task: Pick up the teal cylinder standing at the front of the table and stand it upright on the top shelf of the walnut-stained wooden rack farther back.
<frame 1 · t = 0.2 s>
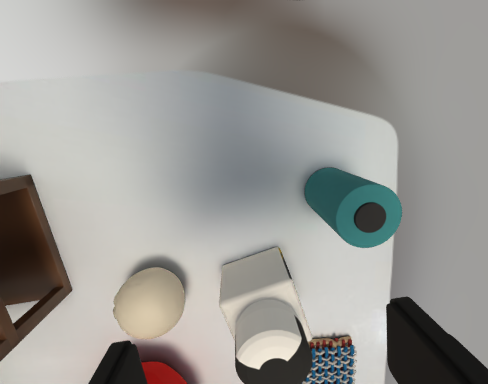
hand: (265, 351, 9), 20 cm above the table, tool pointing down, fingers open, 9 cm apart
cream round ball: (158, 283, 31), on the table
medicine bottle: (259, 279, 31), on the table
teal cylinder: (327, 190, 29), on the table
woven mat: (312, 366, 34), on the table
tomato: (154, 380, 34), on the table
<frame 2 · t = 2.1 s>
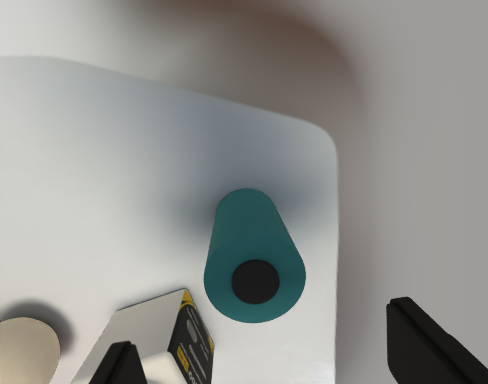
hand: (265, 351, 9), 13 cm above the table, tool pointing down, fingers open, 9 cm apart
cream round ball: (36, 332, 24), on the table
medicine bottle: (167, 327, 24), on the table
teal cylinder: (246, 218, 22), on the table
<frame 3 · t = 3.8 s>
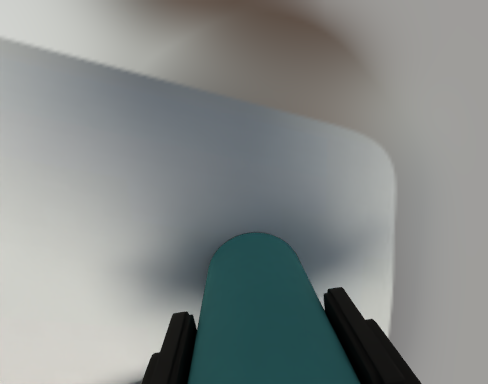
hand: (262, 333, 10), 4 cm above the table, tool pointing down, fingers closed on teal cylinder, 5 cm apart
teal cylinder: (254, 275, 14), on the table, touching gripper
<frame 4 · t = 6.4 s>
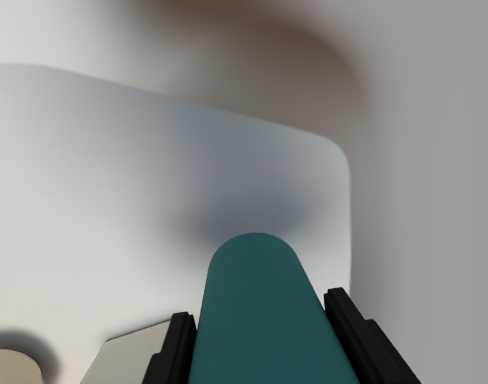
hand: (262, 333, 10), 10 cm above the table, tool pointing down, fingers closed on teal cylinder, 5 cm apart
cream round ball: (18, 363, 22), on the table
medicine bottle: (162, 358, 22), on the table
teal cylinder: (254, 275, 14), point 6 cm above the table, touching gripper
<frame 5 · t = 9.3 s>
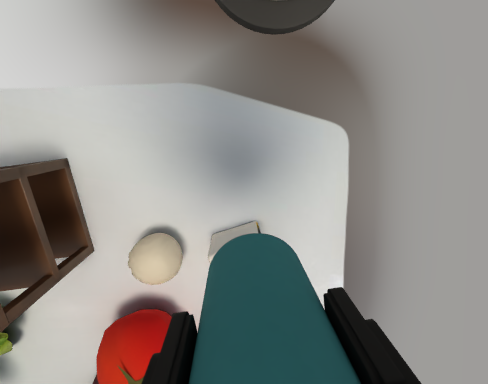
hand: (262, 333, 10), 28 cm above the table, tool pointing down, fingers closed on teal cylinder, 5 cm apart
cream round ball: (162, 247, 39), on the table
rack: (19, 215, 37), on the table
medicine bottle: (241, 247, 39), on the table
teal cylinder: (255, 276, 14), point 23 cm above the table, touching gripper
tomato: (155, 327, 42), on the table
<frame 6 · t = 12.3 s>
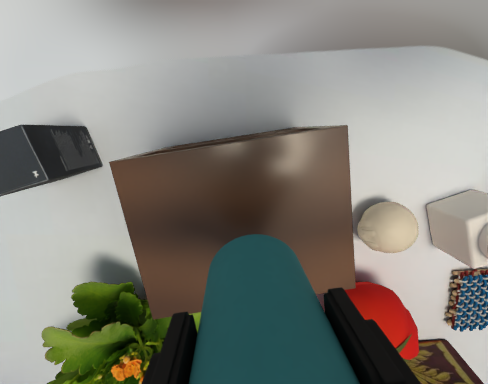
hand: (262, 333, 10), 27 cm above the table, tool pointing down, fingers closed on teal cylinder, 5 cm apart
cream round ball: (372, 218, 38), on the table
rack: (239, 187, 36), on the table
medicine bottle: (450, 217, 39), on the table
teal cylinder: (255, 277, 14), point 23 cm above the table, touching gripper
woven mat: (477, 293, 42), on the table
potted flower: (149, 328, 42), on the table
box: (68, 154, 35), on the table
tomato: (350, 302, 42), on the table
when the fingers open (20 cm above the table, at t = 14.7 s): teal cylinder stays where it is, resting on rack.
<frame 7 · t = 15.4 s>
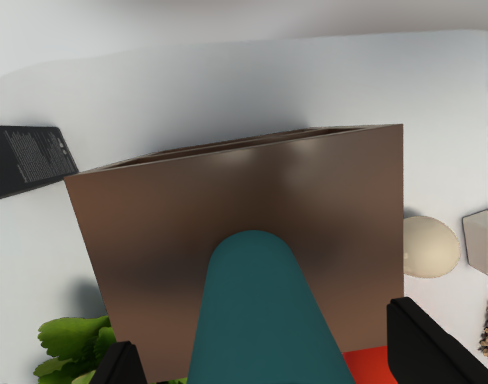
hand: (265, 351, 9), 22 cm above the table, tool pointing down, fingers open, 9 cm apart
cream round ball: (399, 234, 33), on the table
rack: (242, 198, 31), on the table
teal cylinder: (252, 271, 15), point 16 cm above the table, touching rack
potted flower: (138, 362, 36), on the table
box: (38, 160, 29), on the table
tomato: (371, 330, 36), on the table
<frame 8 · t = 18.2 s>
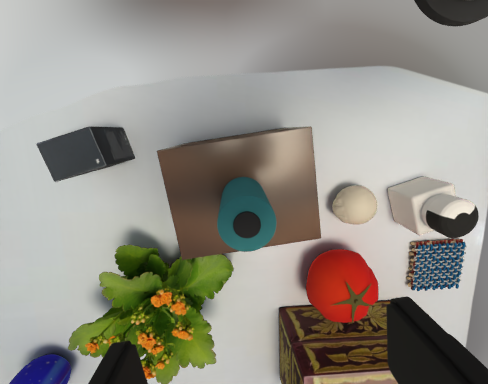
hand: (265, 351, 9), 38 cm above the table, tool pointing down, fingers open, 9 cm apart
decorative box: (341, 338, 56), on the table
cream round ball: (345, 199, 49), on the table
ornament: (57, 361, 55), on the table
rack: (240, 174, 47), on the table
medicine bottle: (407, 198, 49), on the table
teal cylinder: (243, 197, 31), point 16 cm above the table, touching rack
woven mat: (431, 261, 53), on the table
potted flower: (168, 289, 52), on the table
box: (109, 149, 45), on the table
tomato: (329, 268, 52), on the table
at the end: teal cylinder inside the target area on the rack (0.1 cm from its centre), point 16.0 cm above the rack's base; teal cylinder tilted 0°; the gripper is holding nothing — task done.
